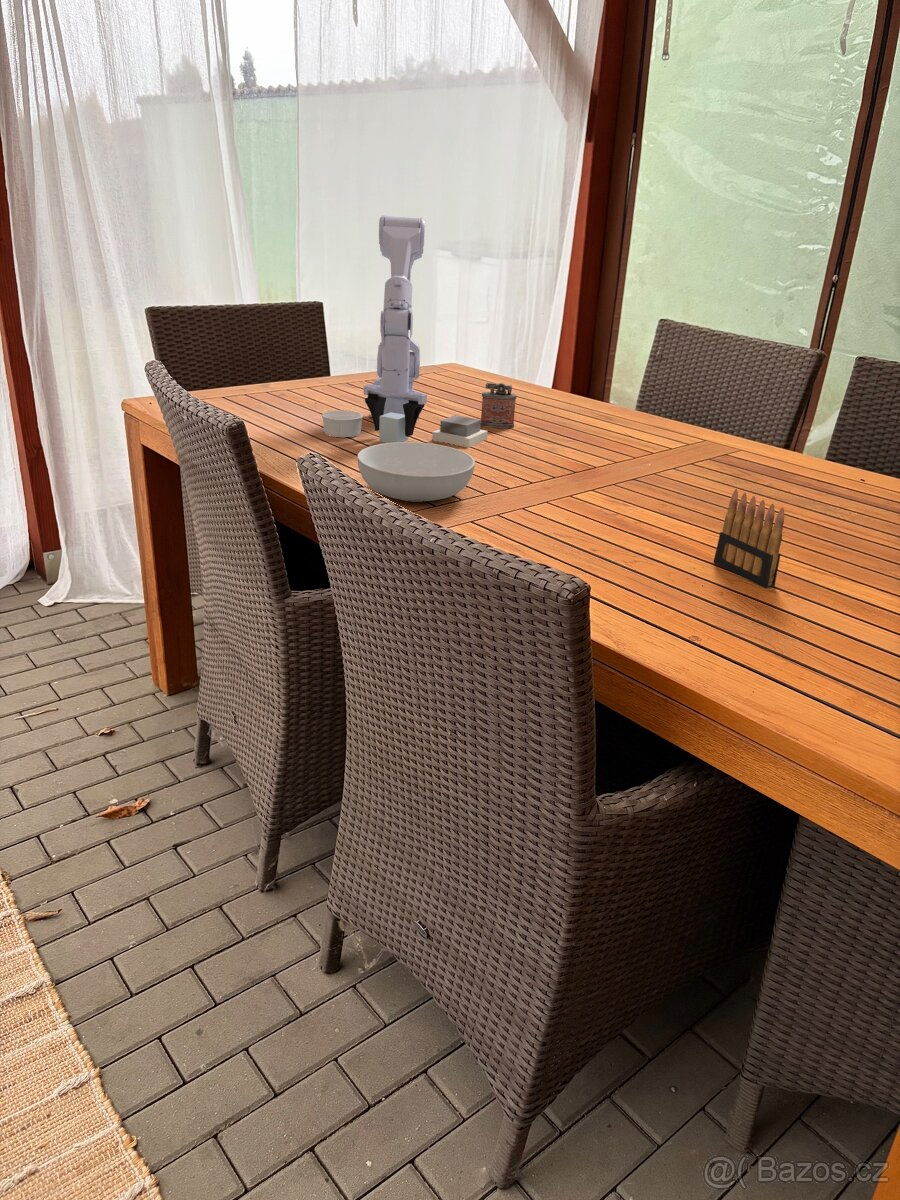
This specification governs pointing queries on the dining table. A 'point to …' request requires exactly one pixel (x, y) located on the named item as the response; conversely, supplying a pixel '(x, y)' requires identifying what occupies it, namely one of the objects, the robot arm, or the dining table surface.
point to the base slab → (460, 438)
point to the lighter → (498, 406)
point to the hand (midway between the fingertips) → (393, 432)
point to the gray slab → (460, 425)
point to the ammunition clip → (750, 541)
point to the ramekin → (342, 423)
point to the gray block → (392, 428)
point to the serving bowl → (415, 470)
